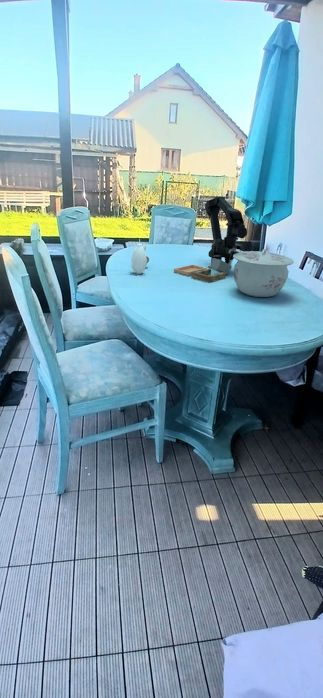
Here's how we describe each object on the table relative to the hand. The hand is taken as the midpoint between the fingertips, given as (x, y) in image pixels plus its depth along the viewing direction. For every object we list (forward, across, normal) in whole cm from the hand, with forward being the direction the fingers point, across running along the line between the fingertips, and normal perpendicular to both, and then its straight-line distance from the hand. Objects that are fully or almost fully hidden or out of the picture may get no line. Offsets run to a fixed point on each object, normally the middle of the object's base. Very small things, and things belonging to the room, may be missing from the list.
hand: (228, 264), depth 211 cm
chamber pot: (+6, +20, +31) cm, 38 cm away
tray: (+5, +15, -14) cm, 21 cm away
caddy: (+3, +8, 0) cm, 8 cm away
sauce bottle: (+6, +41, -29) cm, 50 cm away
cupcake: (+5, +30, -38) cm, 49 cm away
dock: (+5, +17, 0) cm, 18 cm away
